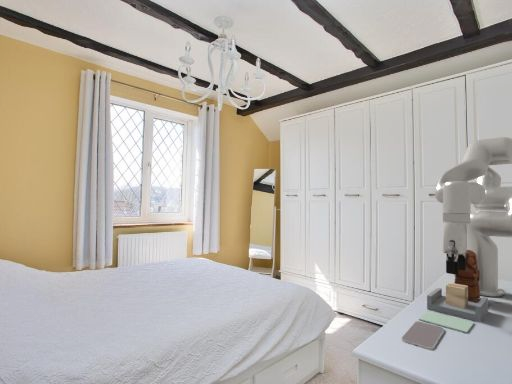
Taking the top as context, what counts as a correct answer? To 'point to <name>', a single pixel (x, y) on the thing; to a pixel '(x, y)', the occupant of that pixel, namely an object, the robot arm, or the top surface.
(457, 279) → the wooden figurine
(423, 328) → the smartphone
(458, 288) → the beech block
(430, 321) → the sage mat
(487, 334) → the top surface
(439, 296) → the gray u-shaped channel
